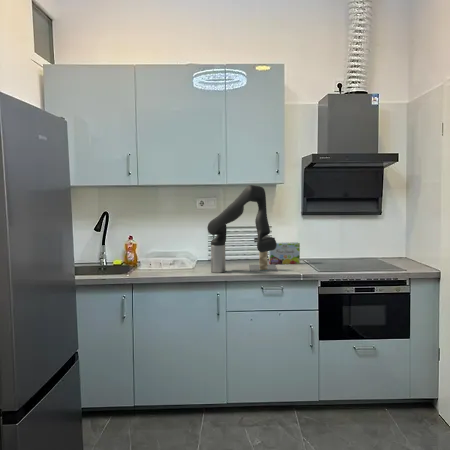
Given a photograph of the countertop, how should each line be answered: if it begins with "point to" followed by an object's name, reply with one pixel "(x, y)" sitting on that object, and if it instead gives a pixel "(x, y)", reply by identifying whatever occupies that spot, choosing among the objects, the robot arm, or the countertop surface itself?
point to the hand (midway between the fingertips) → (263, 238)
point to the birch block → (263, 261)
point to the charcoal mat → (270, 269)
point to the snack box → (285, 253)
